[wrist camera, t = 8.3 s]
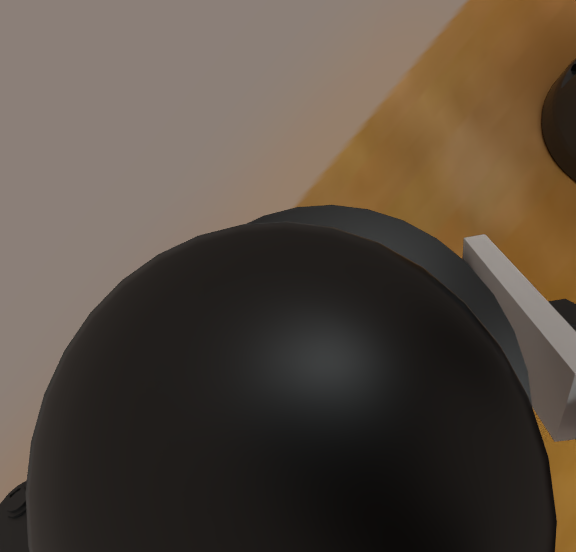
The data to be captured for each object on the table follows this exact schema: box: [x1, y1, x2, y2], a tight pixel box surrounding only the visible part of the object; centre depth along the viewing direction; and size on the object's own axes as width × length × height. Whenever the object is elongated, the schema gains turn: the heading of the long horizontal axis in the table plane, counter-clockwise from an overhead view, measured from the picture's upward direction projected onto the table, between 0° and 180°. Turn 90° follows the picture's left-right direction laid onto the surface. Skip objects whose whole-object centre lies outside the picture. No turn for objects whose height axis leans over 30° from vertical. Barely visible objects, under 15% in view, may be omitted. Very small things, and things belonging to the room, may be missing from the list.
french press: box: [26, 205, 557, 552], centre depth 14 cm, size 12×9×23 cm
